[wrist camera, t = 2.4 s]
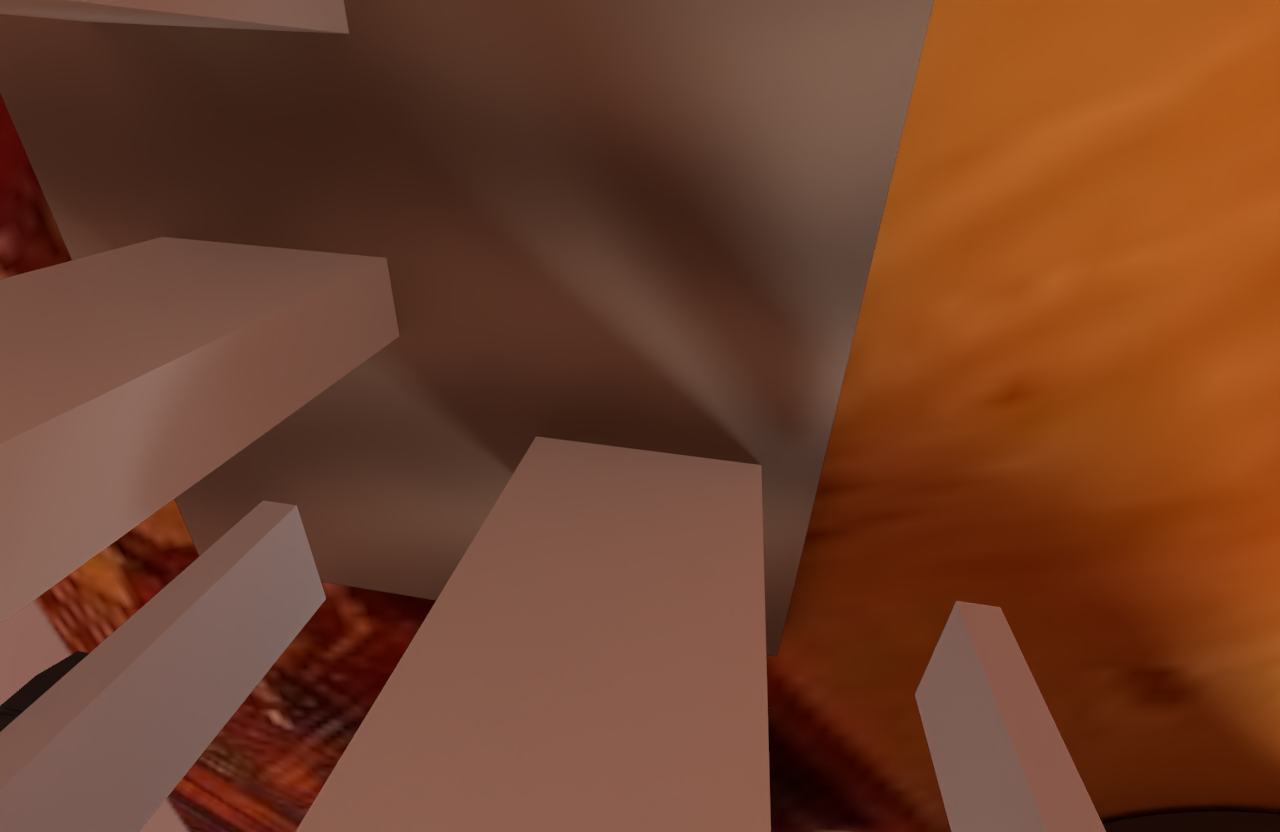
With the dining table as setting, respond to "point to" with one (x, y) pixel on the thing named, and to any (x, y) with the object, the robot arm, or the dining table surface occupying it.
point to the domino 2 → (158, 381)
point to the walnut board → (506, 235)
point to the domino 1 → (194, 13)
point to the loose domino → (581, 662)
